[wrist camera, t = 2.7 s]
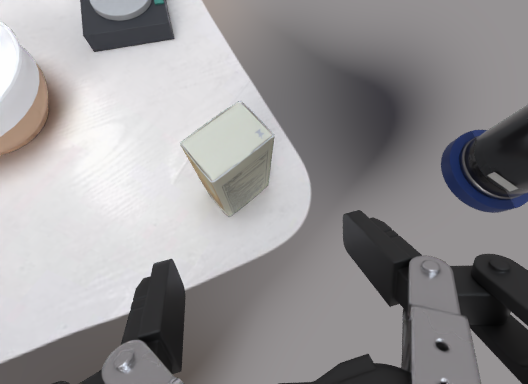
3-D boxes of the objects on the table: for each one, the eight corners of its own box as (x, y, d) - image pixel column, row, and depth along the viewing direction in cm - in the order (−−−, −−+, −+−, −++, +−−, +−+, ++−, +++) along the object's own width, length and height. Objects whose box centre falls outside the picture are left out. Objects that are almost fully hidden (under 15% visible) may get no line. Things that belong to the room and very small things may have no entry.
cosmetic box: (246, 160, 33) (243, 95, 22) (269, 186, 32) (279, 132, 21) (204, 192, 32) (176, 141, 20) (227, 220, 31) (211, 183, 19)
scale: (162, -15, 42) (155, -40, 39) (174, 38, 39) (167, 16, 35) (88, -5, 40) (74, -29, 37) (94, 51, 37) (79, 30, 34)
